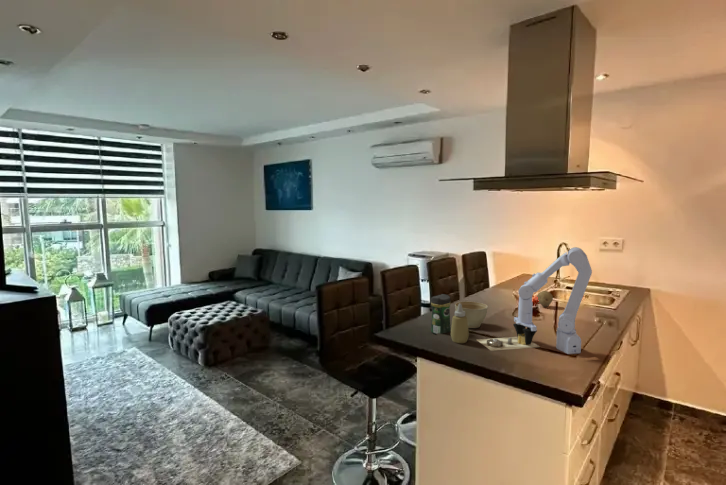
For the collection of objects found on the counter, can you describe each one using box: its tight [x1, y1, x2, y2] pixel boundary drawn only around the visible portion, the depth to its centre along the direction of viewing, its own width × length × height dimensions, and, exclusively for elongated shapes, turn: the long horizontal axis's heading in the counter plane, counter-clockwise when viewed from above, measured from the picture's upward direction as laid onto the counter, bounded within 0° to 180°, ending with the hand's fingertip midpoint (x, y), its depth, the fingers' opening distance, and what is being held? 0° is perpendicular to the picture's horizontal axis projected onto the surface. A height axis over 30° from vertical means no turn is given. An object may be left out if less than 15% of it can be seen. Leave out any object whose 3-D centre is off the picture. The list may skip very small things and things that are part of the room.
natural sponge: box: [536, 290, 554, 308], centre depth 242 cm, size 9×9×10 cm
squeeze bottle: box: [450, 304, 470, 344], centre depth 181 cm, size 8×8×18 cm
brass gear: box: [518, 333, 526, 345], centre depth 179 cm, size 6×6×4 cm
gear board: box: [476, 336, 541, 352], centre depth 179 cm, size 14×23×4 cm, turn 100°
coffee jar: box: [430, 293, 451, 335], centre depth 197 cm, size 10×8×19 cm
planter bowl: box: [454, 301, 489, 329], centre depth 207 cm, size 16×16×11 cm
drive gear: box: [487, 338, 503, 348], centre depth 176 cm, size 7×7×2 cm
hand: (524, 341), depth 179 cm, fingers closed on brass gear, 5 cm apart
